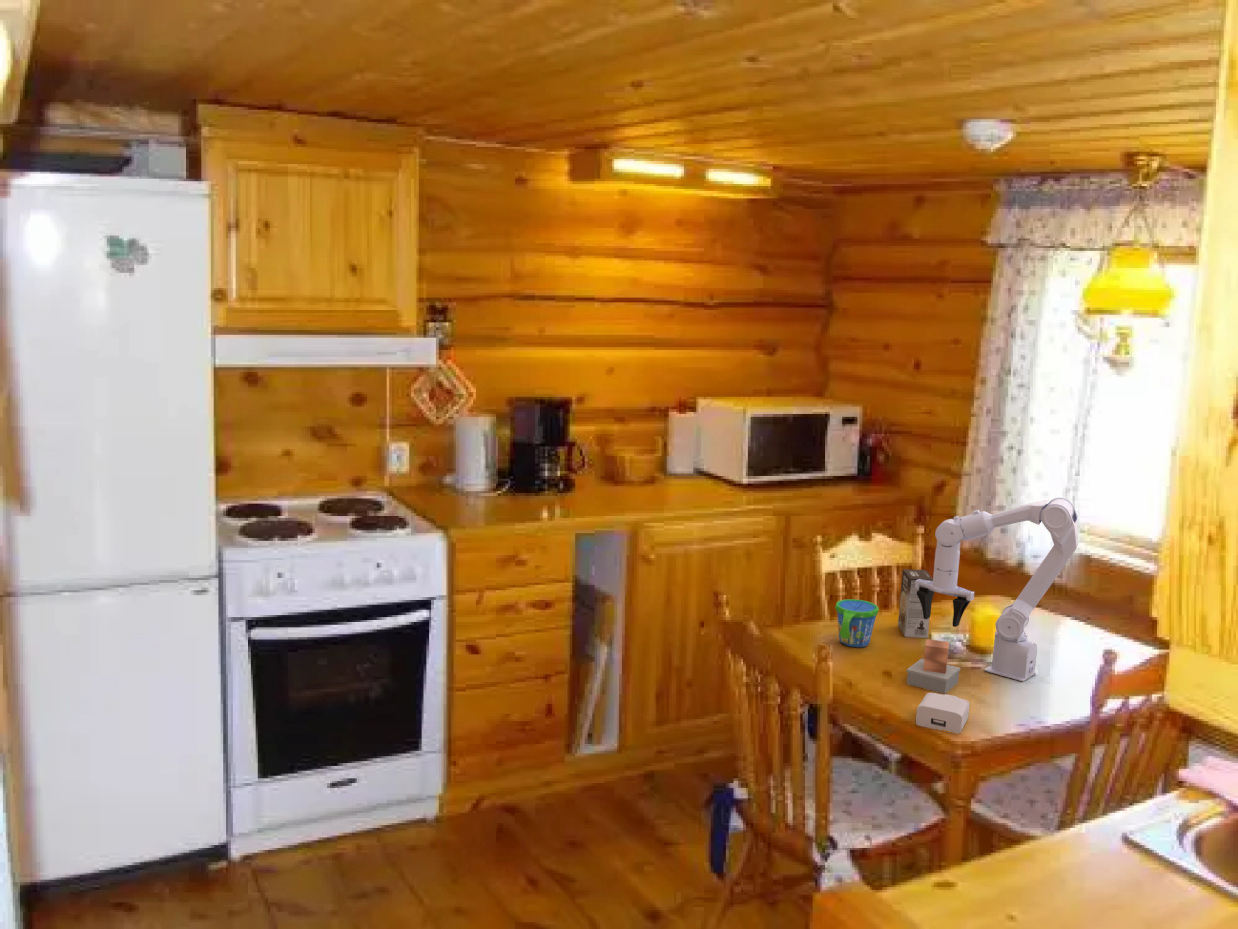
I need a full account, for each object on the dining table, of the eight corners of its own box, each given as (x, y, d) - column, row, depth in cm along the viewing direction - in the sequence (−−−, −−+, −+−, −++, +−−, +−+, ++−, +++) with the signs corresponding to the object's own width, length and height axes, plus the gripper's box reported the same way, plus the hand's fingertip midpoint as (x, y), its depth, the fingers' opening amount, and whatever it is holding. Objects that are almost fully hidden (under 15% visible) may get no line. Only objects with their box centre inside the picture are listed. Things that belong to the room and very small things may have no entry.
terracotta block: (946, 666, 259) (949, 642, 258) (945, 673, 254) (948, 648, 253) (924, 663, 261) (926, 639, 260) (923, 670, 256) (925, 645, 255)
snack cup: (859, 656, 274) (862, 616, 272) (821, 646, 281) (823, 607, 279) (886, 641, 286) (889, 603, 284) (849, 631, 293) (852, 594, 291)
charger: (973, 711, 243) (960, 736, 230) (930, 702, 247) (915, 726, 234) (975, 691, 242) (962, 714, 229) (932, 682, 246) (917, 704, 233)
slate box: (958, 684, 259) (960, 668, 259) (945, 696, 252) (946, 679, 251) (919, 674, 265) (921, 658, 264) (905, 685, 257) (906, 669, 256)
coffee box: (896, 626, 299) (901, 568, 296) (920, 627, 299) (925, 569, 296) (904, 637, 290) (909, 578, 287) (929, 638, 290) (934, 579, 287)
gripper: (911, 565, 272) (906, 618, 275) (967, 578, 263) (961, 632, 265) (924, 560, 278) (919, 612, 280) (980, 572, 268) (974, 626, 271)
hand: (941, 622), depth 273 cm, fingers open, 7 cm apart
